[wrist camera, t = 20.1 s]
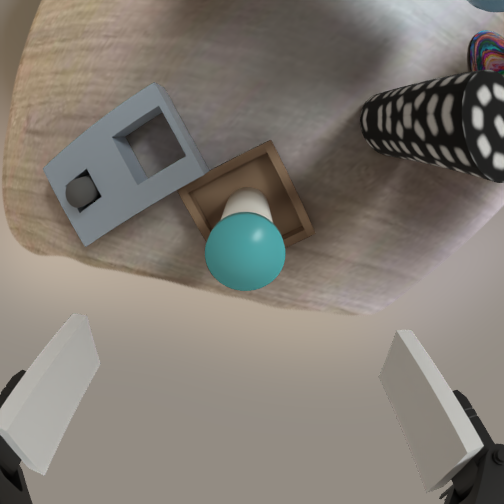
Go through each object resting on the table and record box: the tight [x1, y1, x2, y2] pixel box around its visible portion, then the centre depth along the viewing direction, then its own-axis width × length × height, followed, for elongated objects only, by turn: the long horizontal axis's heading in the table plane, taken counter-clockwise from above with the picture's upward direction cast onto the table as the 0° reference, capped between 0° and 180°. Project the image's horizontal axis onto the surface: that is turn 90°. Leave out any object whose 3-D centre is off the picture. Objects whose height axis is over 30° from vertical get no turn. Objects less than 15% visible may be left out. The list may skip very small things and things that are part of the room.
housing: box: [43, 82, 209, 247], centre depth 33 cm, size 12×18×4 cm, turn 117°
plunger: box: [65, 175, 102, 208], centre depth 32 cm, size 3×3×4 cm
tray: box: [177, 140, 316, 248], centre depth 35 cm, size 12×12×2 cm
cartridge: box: [205, 187, 285, 291], centre depth 29 cm, size 6×6×15 cm
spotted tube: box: [360, 70, 504, 183], centre depth 23 cm, size 8×8×20 cm
